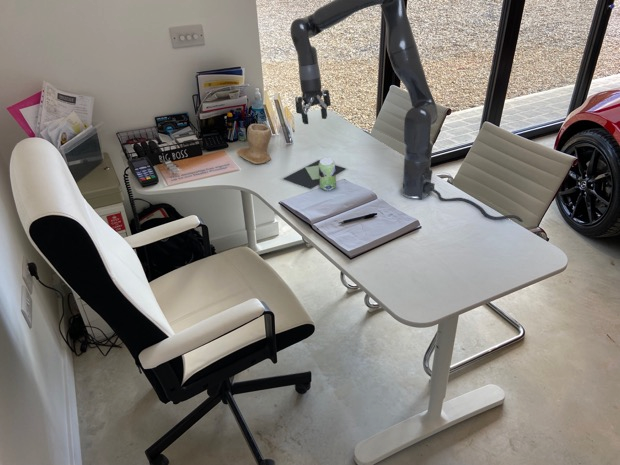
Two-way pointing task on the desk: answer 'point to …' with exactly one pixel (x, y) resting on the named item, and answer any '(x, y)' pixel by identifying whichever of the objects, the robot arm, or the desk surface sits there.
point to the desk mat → (309, 175)
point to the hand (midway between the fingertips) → (315, 121)
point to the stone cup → (256, 144)
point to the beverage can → (327, 174)
